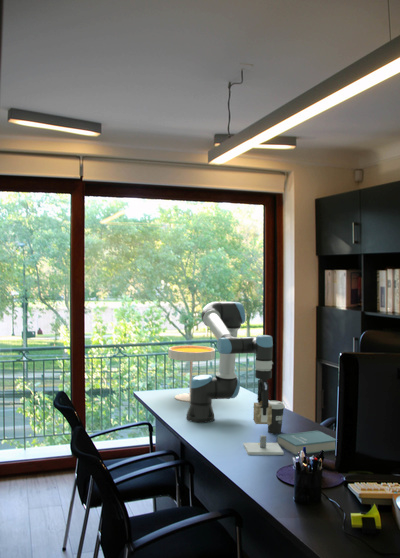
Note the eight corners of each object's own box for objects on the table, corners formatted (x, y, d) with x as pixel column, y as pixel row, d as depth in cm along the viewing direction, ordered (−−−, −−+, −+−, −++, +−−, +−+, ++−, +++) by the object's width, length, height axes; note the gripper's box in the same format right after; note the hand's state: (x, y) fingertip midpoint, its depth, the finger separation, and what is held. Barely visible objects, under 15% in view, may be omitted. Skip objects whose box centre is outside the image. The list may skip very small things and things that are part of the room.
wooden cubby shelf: (255, 424, 240) (256, 404, 240) (253, 419, 247) (253, 400, 247) (271, 424, 241) (271, 404, 241) (268, 419, 248) (268, 400, 248)
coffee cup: (272, 435, 265) (273, 405, 265) (261, 430, 274) (262, 401, 273) (287, 433, 270) (288, 403, 269) (276, 428, 278) (277, 399, 278)
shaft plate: (247, 454, 237) (248, 440, 237) (243, 445, 250) (243, 431, 250) (283, 454, 238) (283, 441, 238) (277, 445, 251) (277, 432, 251)
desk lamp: (186, 390, 359) (187, 344, 359) (223, 397, 342) (224, 348, 342) (157, 398, 335) (158, 348, 335) (195, 406, 318) (196, 354, 318)
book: (295, 456, 238) (295, 444, 238) (276, 444, 253) (276, 434, 253) (337, 450, 247) (337, 439, 247) (316, 440, 262) (317, 429, 262)
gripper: (276, 373, 234) (275, 426, 234) (267, 365, 254) (266, 414, 254) (259, 373, 234) (258, 425, 234) (251, 365, 254) (250, 414, 254)
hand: (262, 419), depth 244 cm, fingers closed on wooden cubby shelf, 7 cm apart
